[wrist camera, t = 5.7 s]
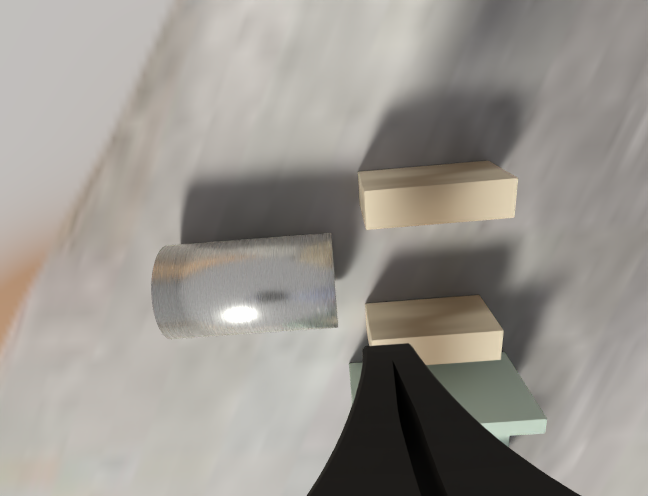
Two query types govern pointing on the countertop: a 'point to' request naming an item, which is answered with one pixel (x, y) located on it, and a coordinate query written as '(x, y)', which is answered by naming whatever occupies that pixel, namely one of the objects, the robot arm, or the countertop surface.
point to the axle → (245, 286)
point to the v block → (486, 395)
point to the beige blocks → (425, 209)
